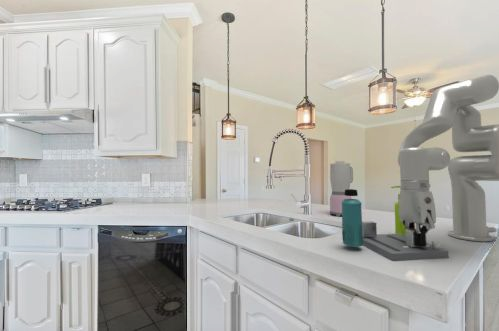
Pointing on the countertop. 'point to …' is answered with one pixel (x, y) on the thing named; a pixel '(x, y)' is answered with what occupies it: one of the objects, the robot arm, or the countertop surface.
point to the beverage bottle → (352, 220)
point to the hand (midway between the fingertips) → (416, 243)
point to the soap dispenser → (398, 224)
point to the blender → (339, 185)
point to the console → (402, 248)
